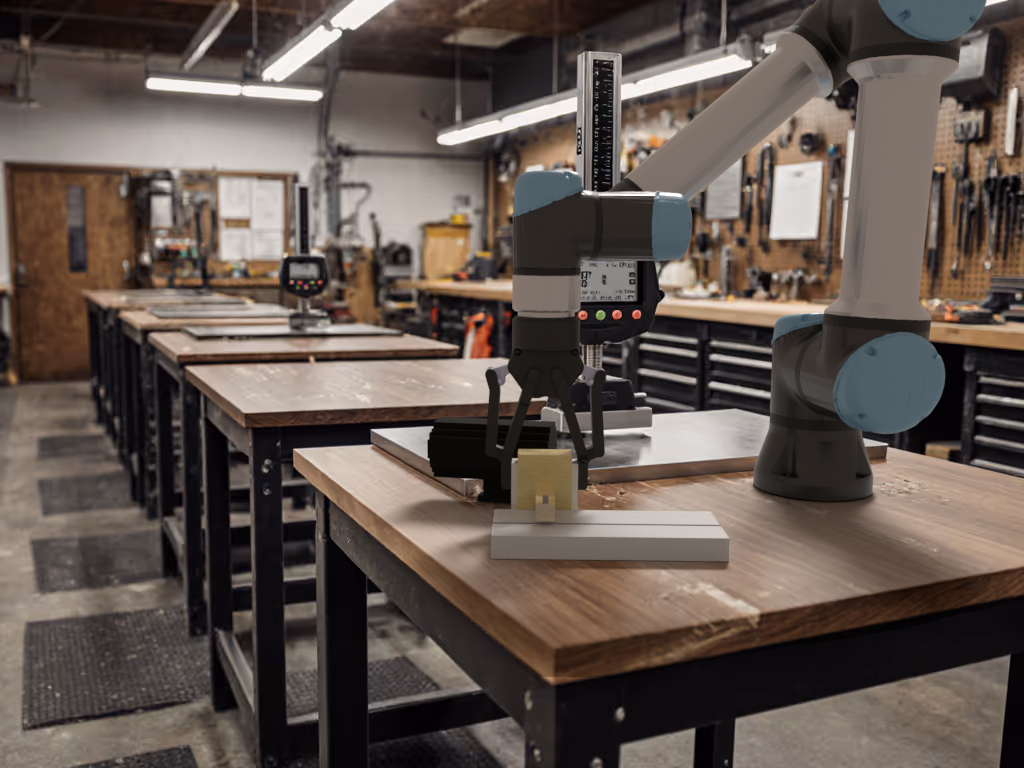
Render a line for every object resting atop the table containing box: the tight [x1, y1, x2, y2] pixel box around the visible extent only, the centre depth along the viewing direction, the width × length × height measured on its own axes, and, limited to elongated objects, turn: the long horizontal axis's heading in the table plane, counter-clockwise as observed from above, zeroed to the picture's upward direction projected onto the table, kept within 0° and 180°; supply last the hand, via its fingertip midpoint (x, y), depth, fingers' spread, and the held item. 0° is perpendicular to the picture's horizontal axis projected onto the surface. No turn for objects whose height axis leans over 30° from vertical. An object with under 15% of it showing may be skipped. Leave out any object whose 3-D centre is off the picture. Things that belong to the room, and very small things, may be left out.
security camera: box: [426, 416, 558, 505], centre depth 118 cm, size 7×18×10 cm, turn 78°
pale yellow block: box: [517, 448, 573, 521], centre depth 103 cm, size 6×10×8 cm, turn 179°
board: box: [490, 508, 731, 562], centre depth 101 cm, size 24×10×2 cm, turn 89°
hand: (543, 516), depth 108 cm, fingers closed on pale yellow block, 6 cm apart
